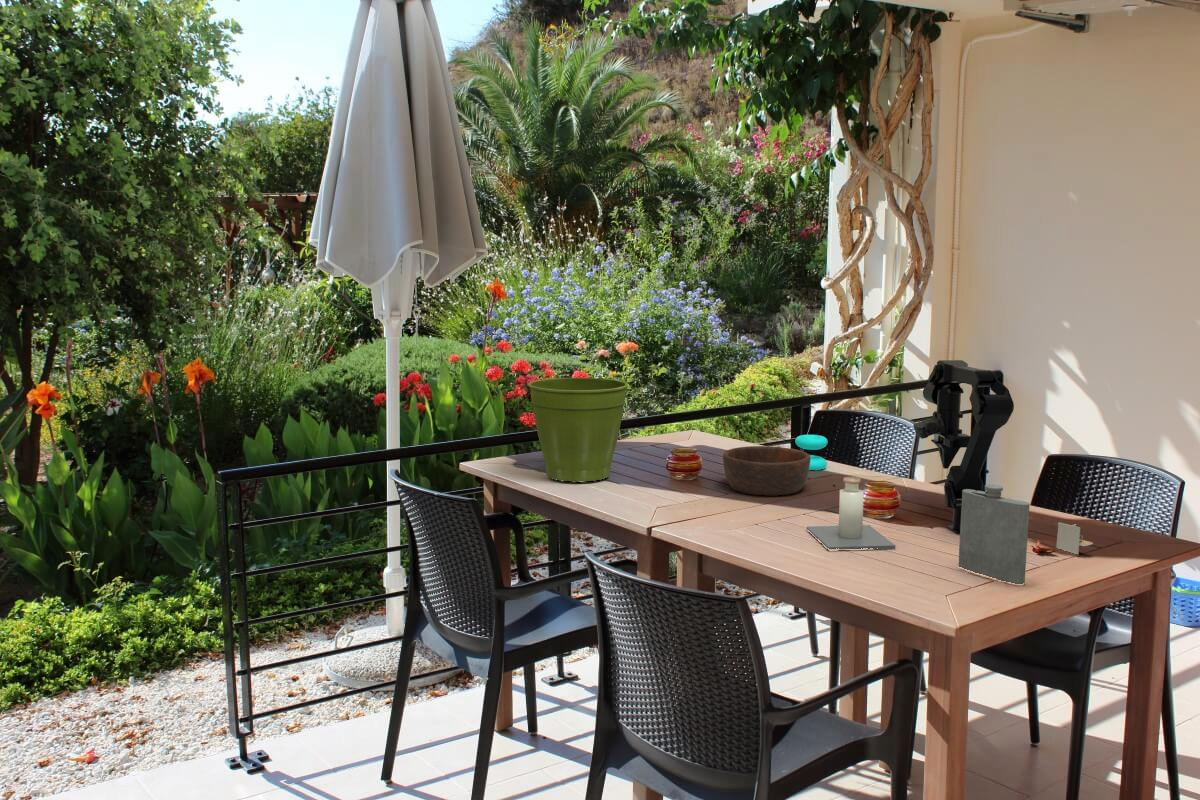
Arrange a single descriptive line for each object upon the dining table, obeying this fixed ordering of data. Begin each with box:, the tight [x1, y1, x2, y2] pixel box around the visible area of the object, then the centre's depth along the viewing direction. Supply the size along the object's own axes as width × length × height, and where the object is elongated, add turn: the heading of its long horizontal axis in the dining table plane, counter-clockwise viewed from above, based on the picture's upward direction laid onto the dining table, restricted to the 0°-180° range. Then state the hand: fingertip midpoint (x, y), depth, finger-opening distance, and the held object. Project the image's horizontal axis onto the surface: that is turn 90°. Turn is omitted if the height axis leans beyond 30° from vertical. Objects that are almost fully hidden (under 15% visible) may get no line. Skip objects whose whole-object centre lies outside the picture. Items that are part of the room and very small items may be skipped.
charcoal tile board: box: [806, 524, 897, 550], centre depth 260 cm, size 18×16×1 cm
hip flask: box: [958, 484, 1030, 584], centre depth 231 cm, size 16×4×20 cm, turn 34°
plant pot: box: [528, 377, 629, 483], centre depth 325 cm, size 30×30×29 cm
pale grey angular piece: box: [1056, 521, 1094, 555], centre depth 249 cm, size 3×7×7 cm, turn 32°
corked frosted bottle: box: [838, 476, 865, 539], centre depth 259 cm, size 6×6×14 cm
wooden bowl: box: [722, 445, 811, 497], centre depth 312 cm, size 25×25×10 cm
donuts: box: [794, 434, 829, 471], centre depth 340 cm, size 10×10×10 cm
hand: (945, 468), depth 279 cm, fingers closed
